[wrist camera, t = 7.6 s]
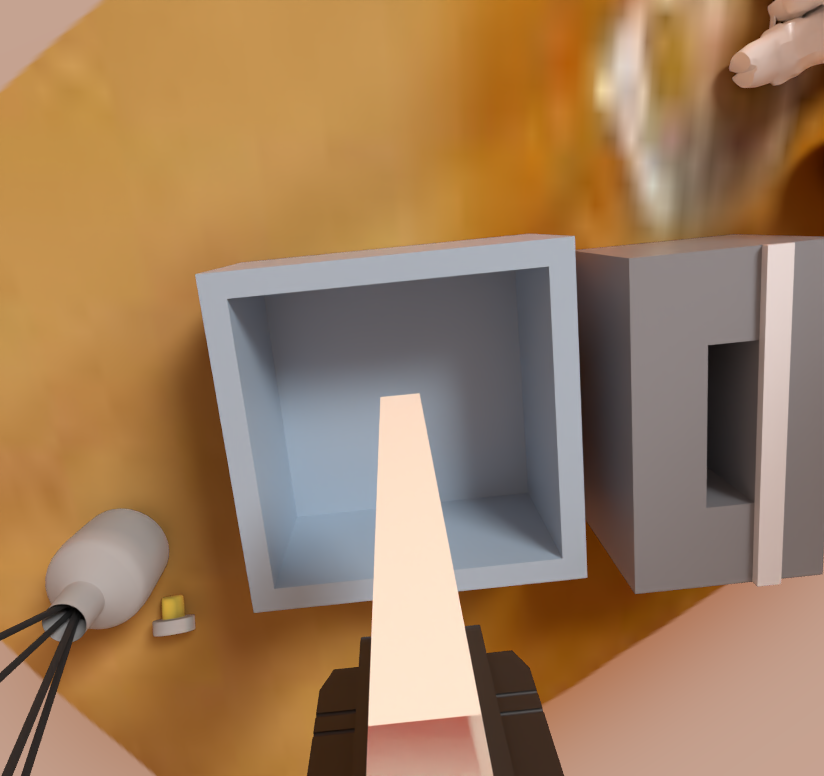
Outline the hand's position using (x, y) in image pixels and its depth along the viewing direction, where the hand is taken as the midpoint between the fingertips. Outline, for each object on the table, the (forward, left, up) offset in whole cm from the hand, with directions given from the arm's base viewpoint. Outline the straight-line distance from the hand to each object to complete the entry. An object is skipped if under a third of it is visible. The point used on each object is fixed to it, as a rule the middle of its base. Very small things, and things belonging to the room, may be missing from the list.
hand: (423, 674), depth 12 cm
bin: (0, 0, -22) cm, 22 cm away
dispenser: (-13, +1, -22) cm, 26 cm away
